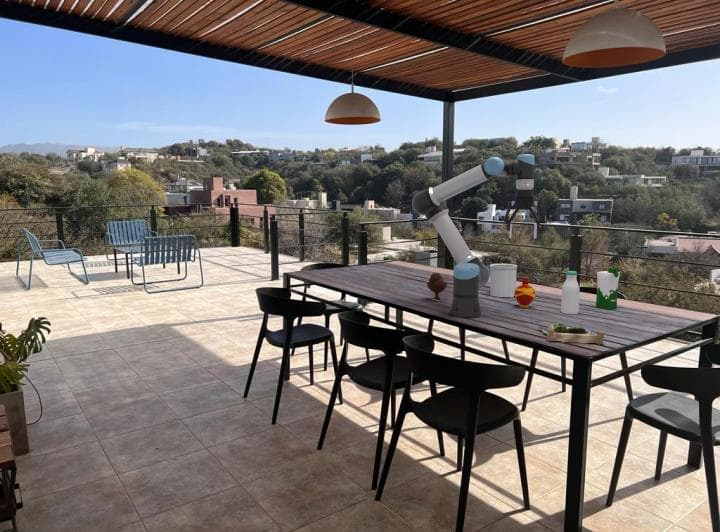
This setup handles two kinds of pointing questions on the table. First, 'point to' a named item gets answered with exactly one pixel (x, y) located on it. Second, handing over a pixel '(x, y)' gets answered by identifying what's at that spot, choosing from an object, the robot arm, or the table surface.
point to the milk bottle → (570, 294)
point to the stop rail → (575, 337)
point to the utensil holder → (503, 280)
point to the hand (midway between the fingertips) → (522, 238)
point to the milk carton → (607, 289)
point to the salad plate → (565, 329)
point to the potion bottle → (525, 293)
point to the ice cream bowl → (436, 284)
